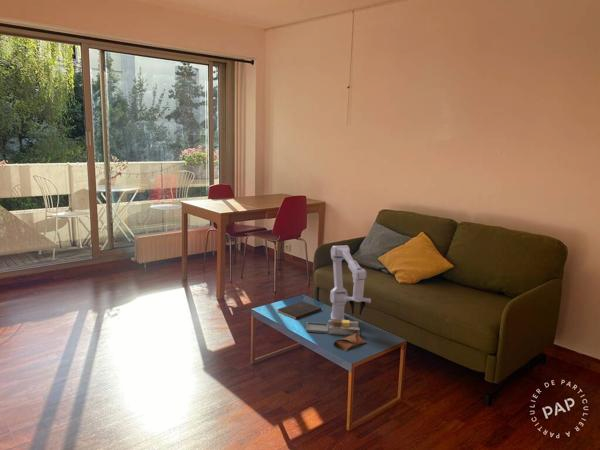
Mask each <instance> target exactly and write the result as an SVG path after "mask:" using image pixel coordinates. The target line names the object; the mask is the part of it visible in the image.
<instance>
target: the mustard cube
mask: <svg viewBox="0 0 600 450" xmlns="http://www.w3.org/2000/svg"><path fill="white" fill-rule="evenodd" d="M349 321H350V319H345V320H342V327H349V325H350V322H349Z"/></svg>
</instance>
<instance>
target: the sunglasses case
mask: <svg viewBox="0 0 600 450" xmlns="http://www.w3.org/2000/svg"><path fill="white" fill-rule="evenodd" d="M364 344H367V342H366V341H365V340H364V339H363V338H362V337H361V336H360V334H359V335H358V334H357V333H356V334H354V335H347V336H345V337H343V338H340V339H336V340H335V341H334V342H333V346H334V347H335V348H337V349H339V350H341V351H344V352H348V351H349V350H352V349H354V348H356V347H359V346H362V345H364Z"/></svg>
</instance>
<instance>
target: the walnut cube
mask: <svg viewBox="0 0 600 450" xmlns="http://www.w3.org/2000/svg"><path fill="white" fill-rule="evenodd" d="M332 320H333V326H340V325H341V321H340V320H339V319H332Z"/></svg>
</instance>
